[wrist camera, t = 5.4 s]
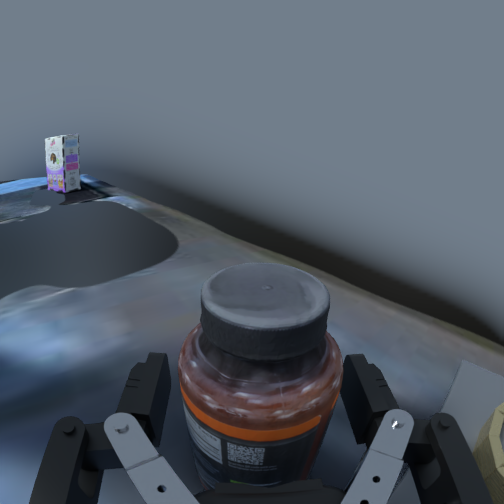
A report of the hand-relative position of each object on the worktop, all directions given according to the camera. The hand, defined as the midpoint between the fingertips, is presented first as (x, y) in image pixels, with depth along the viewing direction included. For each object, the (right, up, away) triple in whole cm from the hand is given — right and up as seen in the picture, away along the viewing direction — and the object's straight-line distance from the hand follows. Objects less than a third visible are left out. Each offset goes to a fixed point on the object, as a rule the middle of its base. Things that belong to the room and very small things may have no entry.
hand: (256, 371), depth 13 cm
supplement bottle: (0, -6, +1) cm, 6 cm away
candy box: (-57, +24, +68) cm, 91 cm away
